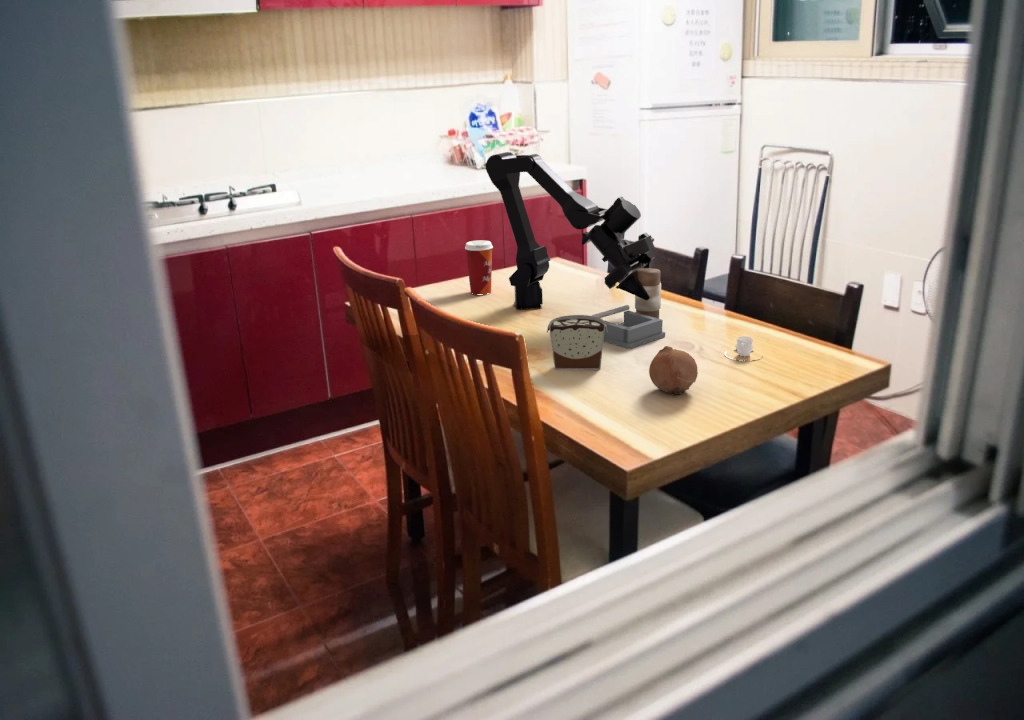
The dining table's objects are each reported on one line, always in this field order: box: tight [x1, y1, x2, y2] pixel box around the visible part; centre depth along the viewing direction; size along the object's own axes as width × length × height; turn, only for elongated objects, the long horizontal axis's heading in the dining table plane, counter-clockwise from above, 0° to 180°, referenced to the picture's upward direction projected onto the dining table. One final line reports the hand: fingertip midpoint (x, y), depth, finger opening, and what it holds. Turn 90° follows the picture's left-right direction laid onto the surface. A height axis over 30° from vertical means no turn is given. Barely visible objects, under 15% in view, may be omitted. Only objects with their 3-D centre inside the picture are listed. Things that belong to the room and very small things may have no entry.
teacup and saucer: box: [723, 336, 754, 362], centre depth 175 cm, size 9×8×4 cm
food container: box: [546, 314, 608, 371], centre depth 172 cm, size 12×6×10 cm, turn 84°
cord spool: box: [634, 268, 662, 319], centre depth 197 cm, size 6×6×12 cm
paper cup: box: [464, 239, 494, 294], centre depth 227 cm, size 8×8×14 cm
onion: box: [648, 345, 699, 395], centre depth 157 cm, size 9×9×10 cm
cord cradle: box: [591, 304, 666, 350], centre depth 188 cm, size 12×12×5 cm
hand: (653, 295), depth 196 cm, fingers closed on cord spool, 6 cm apart
